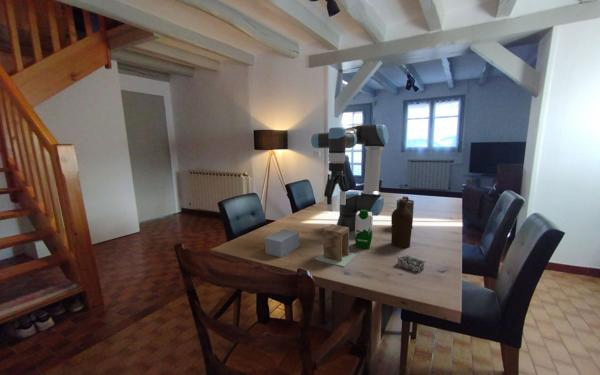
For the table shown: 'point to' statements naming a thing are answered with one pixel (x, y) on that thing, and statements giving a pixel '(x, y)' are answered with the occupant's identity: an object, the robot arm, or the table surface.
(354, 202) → the robot arm
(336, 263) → the mat
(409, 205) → the canister
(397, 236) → the olive oil
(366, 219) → the milk carton
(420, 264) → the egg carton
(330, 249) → the grooved wooden block
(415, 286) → the table surface
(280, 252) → the blue-grey rectangular block
